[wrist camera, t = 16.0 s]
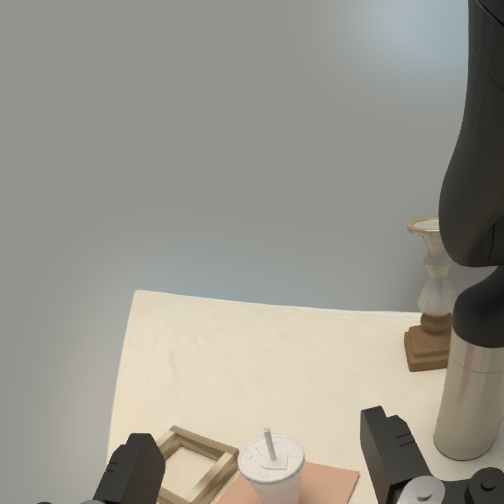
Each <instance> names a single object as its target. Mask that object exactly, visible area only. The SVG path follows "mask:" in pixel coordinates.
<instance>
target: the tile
mask: <svg viewBox="0 0 504 504" xmlns="http://www.w3.org/2000/svg"><path fill="white" fill-rule="evenodd" d="M359 474H360V472H359V471H352V470H346V469H340V468H334V467H329V466H323V465H318V464H313V463H309V462H305V463H304V467H303V469H302V470H301V483H300V496H299V504H347V503H348V501H349V498H350V496H351V494H352V492H353V489H354V487H355V485H356V482H357V480H358V477H359ZM216 504H264V503H263V502H262V500H261V499H260V497H259V496H258V494H257V493H256V491H255V490H254V488H253V487H252V485H251V484H250V483H249V482H248V481H247V480H245V479H244V478H243V477H242V475H241V474H240V475H239V476H238V477H237V478H236V480H235V481H234V482H233V483H232V485H231V486H230V487H229V488H228V490H227V491H226V492H225V493H224V494H223V496H222V497H221V498H220V499H219V500H218V502H217V503H216Z"/></svg>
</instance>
